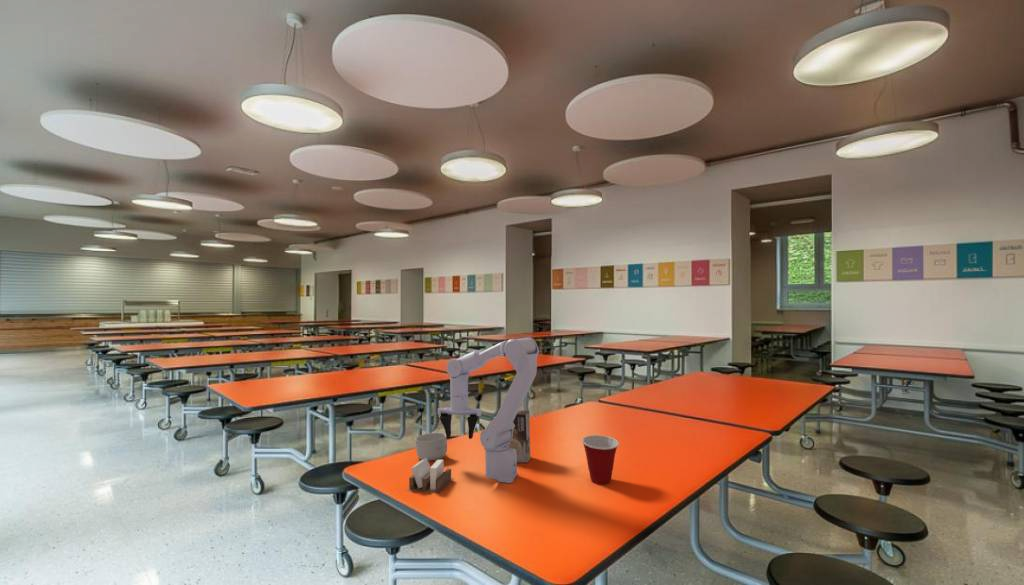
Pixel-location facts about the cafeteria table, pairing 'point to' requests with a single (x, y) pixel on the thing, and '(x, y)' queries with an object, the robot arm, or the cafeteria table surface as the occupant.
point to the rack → (440, 483)
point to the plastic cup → (600, 457)
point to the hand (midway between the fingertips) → (459, 437)
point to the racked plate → (421, 471)
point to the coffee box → (521, 436)
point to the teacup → (431, 446)
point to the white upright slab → (436, 473)
